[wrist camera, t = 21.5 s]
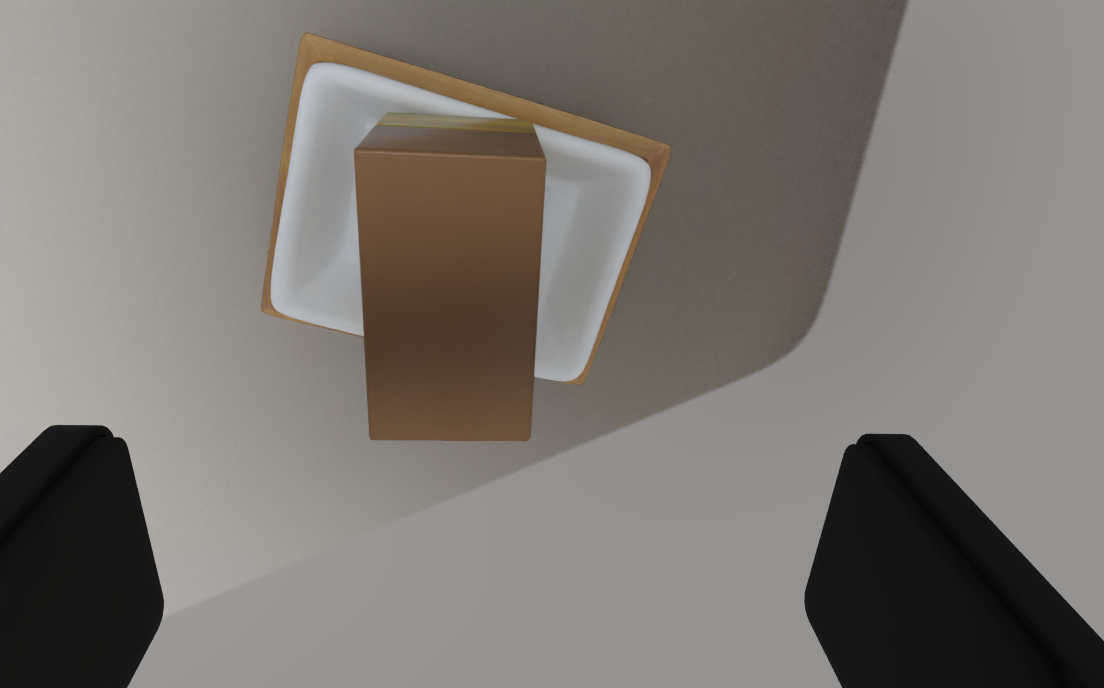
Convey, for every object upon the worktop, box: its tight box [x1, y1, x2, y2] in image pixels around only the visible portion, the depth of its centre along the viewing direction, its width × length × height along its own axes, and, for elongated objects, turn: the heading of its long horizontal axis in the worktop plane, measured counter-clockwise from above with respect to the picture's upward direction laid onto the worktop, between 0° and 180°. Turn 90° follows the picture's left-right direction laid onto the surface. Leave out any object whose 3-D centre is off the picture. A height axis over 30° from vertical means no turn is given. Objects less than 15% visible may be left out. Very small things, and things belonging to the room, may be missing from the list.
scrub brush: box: [354, 112, 547, 441], centre depth 21 cm, size 8×4×6 cm, turn 177°
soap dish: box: [261, 33, 671, 385], centre depth 26 cm, size 12×10×5 cm
